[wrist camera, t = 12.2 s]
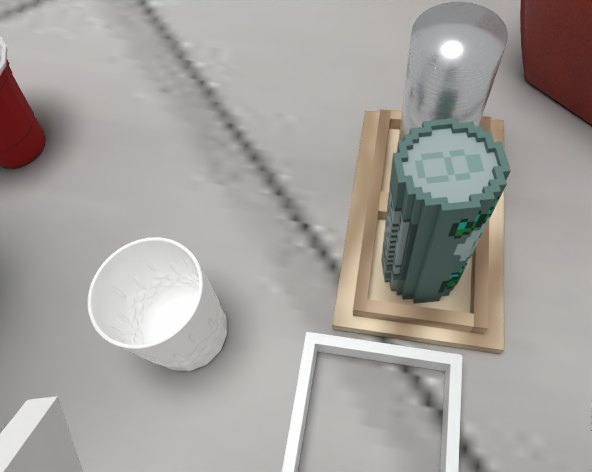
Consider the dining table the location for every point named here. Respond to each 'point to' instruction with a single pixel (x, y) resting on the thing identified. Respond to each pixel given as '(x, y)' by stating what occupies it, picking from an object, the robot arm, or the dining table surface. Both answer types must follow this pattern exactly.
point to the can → (439, 205)
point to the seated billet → (451, 64)
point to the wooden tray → (377, 294)
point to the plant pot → (559, 51)
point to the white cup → (158, 305)
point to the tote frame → (383, 354)
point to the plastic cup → (16, 121)
